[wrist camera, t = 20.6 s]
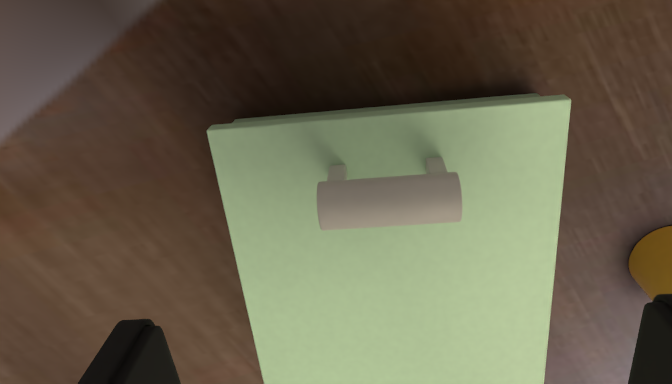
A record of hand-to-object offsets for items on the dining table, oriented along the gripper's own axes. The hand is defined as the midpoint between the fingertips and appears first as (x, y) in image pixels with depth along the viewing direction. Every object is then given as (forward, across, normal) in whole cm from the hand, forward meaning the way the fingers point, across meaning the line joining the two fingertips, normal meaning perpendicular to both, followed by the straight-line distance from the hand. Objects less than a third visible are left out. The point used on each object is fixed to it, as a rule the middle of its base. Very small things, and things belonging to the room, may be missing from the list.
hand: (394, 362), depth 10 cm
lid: (+12, 0, +7) cm, 14 cm away
